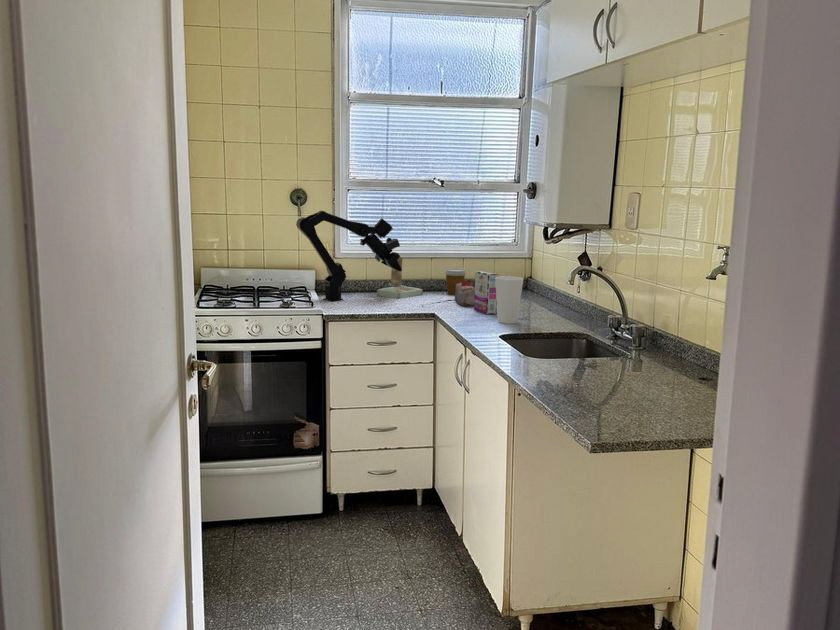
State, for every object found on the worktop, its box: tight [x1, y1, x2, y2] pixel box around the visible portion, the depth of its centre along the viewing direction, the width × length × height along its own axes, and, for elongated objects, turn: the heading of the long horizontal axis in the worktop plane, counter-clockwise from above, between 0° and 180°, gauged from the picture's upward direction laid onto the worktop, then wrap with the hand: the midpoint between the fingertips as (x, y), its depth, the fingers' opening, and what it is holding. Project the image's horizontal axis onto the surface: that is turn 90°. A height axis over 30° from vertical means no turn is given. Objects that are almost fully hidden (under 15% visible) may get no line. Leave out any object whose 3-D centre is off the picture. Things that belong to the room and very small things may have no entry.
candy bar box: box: [473, 270, 499, 315], centre depth 312 cm, size 11×5×16 cm, turn 25°
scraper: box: [388, 256, 405, 287], centre depth 341 cm, size 4×7×13 cm, turn 21°
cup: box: [495, 275, 525, 325], centre depth 292 cm, size 11×10×17 cm
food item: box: [454, 281, 475, 307], centre depth 330 cm, size 14×8×10 cm, turn 14°
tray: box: [376, 285, 424, 299], centre depth 345 cm, size 16×13×4 cm
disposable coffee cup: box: [444, 268, 467, 296], centre depth 350 cm, size 10×10×12 cm
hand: (399, 270), depth 341 cm, fingers closed on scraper, 4 cm apart
